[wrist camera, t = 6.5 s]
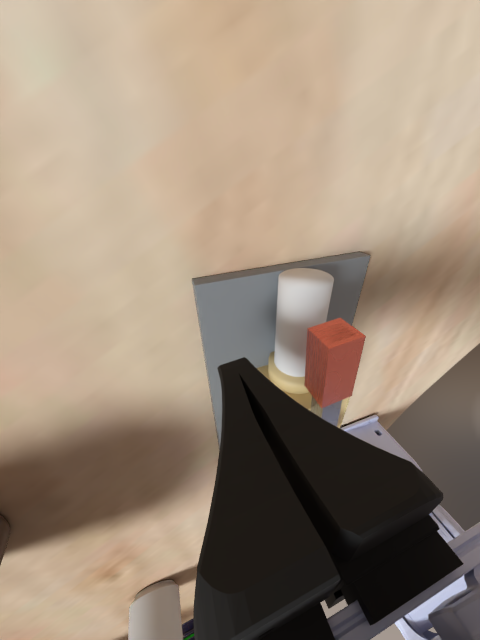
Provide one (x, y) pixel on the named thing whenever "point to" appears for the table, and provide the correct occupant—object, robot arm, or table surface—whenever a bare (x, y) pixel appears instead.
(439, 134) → the table surface
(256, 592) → the robot arm
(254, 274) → the board
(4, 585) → the table surface
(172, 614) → the can
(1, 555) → the plant pot
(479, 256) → the table surface
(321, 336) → the lever
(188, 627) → the storage jar
